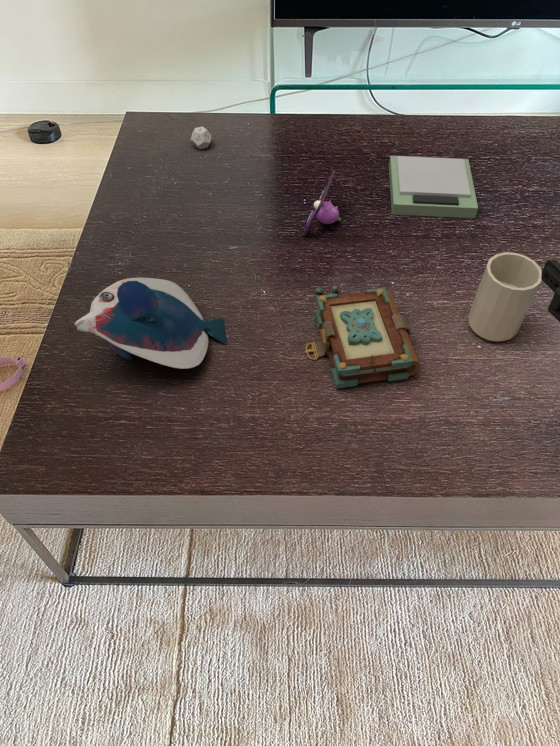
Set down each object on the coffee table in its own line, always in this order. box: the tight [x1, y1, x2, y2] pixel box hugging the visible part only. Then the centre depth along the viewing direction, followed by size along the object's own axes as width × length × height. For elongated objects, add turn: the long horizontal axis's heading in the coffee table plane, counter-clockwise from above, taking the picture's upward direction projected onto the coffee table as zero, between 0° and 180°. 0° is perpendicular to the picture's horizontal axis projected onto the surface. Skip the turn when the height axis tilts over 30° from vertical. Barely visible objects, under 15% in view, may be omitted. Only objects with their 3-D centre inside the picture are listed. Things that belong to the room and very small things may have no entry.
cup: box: [467, 251, 543, 342], centre depth 80 cm, size 7×7×10 cm
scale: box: [388, 155, 479, 219], centre depth 100 cm, size 13×13×3 cm
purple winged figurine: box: [303, 168, 342, 237], centre depth 94 cm, size 7×5×9 cm
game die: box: [190, 125, 213, 150], centre depth 108 cm, size 4×4×3 cm
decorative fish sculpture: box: [74, 277, 228, 370], centre depth 78 cm, size 20×12×15 cm
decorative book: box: [304, 285, 421, 389], centre depth 80 cm, size 13×18×5 cm
